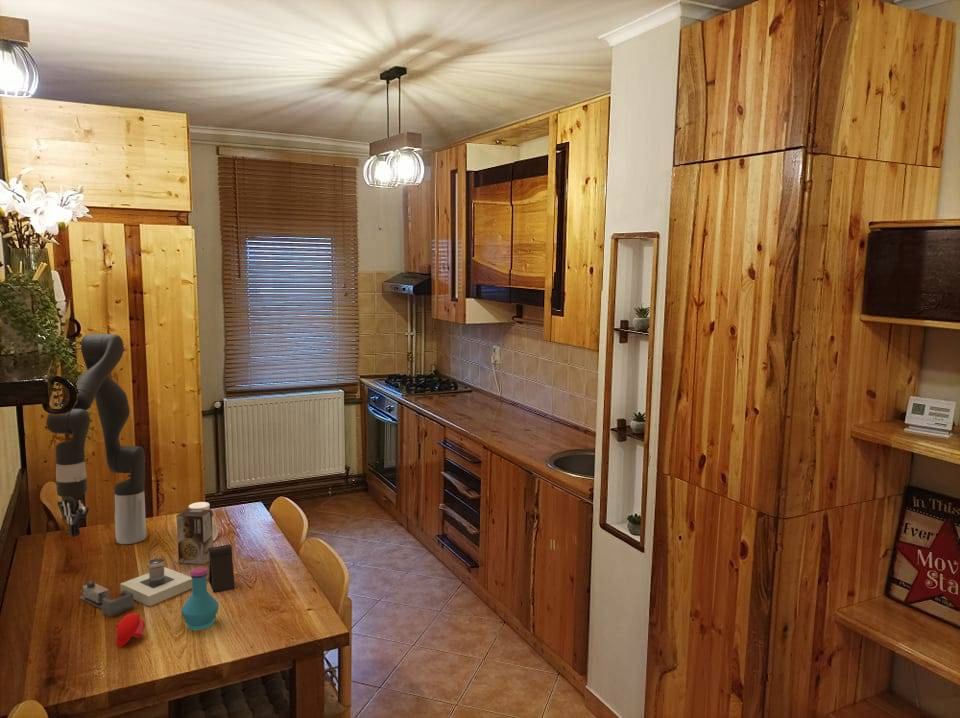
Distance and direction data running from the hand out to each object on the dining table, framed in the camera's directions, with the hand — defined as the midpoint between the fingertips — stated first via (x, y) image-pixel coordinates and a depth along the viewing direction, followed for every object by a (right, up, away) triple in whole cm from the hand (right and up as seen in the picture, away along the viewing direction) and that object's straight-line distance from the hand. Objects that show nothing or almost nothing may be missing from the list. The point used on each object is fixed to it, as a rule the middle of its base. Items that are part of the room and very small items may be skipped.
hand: (74, 535), depth 199 cm
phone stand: (+40, -17, +8) cm, 44 cm away
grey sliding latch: (+12, -18, -5) cm, 22 cm away
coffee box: (+25, -15, +25) cm, 38 cm away
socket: (+23, -17, +3) cm, 28 cm away
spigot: (+23, -17, +3) cm, 28 cm away
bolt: (+8, -17, -3) cm, 20 cm away
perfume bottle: (+43, -20, -15) cm, 50 cm away
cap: (+28, -21, -24) cm, 42 cm away
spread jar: (+20, -12, +43) cm, 49 cm away
